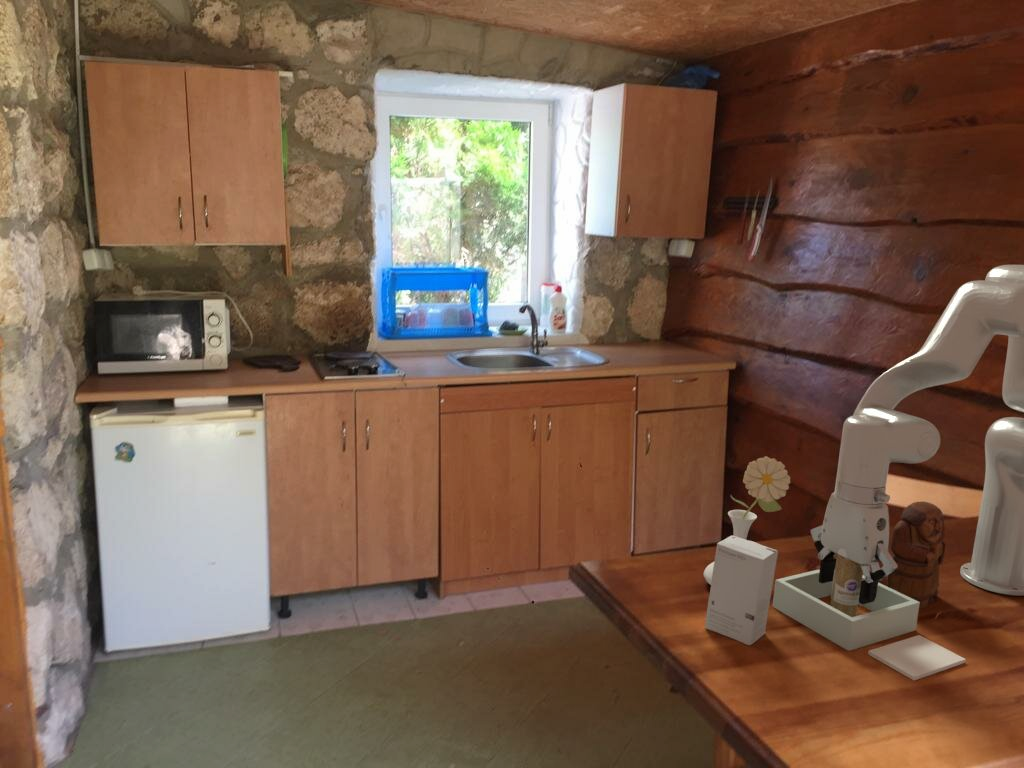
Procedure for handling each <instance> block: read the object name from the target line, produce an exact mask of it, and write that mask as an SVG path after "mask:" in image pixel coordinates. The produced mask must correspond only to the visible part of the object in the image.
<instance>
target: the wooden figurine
mask: <svg viewBox="0 0 1024 768" xmlns="http://www.w3.org/2000/svg"><path fill="white" fill-rule="evenodd" d="M945 530H946V529H945V520H944V515H943V512H942V510H941V509H940V507H938V506H937V505H935V504H934V503H931V502H928V501H915V502H912V503H910V504H908V505H907V507H905V508H904V510H903V511H902V513H901V515H900V521H897V523H896V524H895V526H894V528H893V530H892V534H891V539H890V543H889V544H890V545H889V547H890V551H891V552H892V555H893V556H892V558H893V559H894V561H895V562H896V564H897V566H898V567H897V569H895V570H894V571H893V572H892V573H890V574H889V576H887V577H886V578H887V580H886V586H887V587H889V588H891V589H893V590H895V591H897V592H899V593H902V594H904V595H906V596H908V597H910V598H912V599H914V600H916V601H918V602H920V605H919V609H925V608H926V607H928V605H929V604H931V603H934V602H935V599H934V597H937V596H938V595H939V586H940V567H939V566H940V565H942V563H944V562H943V561H944V557H945V554H946V553H945V552H946V546H947V545H946V543H945V542H944V539H945Z"/></svg>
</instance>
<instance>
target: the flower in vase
mask: <svg viewBox="0 0 1024 768" xmlns="http://www.w3.org/2000/svg"><path fill="white" fill-rule="evenodd" d="M785 468H786V466H785V464H783V462H781V461H777V459H776V458H770V457H768V456H764V457H759V458H757V459H756V460H753V461H750V462H749V463H748V465H747V466H746V470H745V471H744V475H743V480H742V483H743V484H745V488H746V489H747V490H748V492H747V493H748V495H750V496H752V497H753V498H756V499H755V501H754V502H753V503H752V504H751V506H750V507H749V506H748V505H747V504H746V503H745V502H743V501H741V500H738V499H736V498H734V497H733V495H732V494H730V498H731V500H733V501H734V502H737V503H738V504H739V505H742V506H743V507H746V508H747V510H744V509H733V510H729V511H728V512H727V515H728V516H729V518H730V521H731V524H732V528H733V536H736V537H739V538H742V539H745V540H748V539H747V537H748V535H749V534H748V533H749V531H750V527H751V526H752V524H753V523H754V522H755V520H757V518H758V516H757V514H755V513H754V512H751V510H752V508H753V507H754V506H755V505H756V504H757V503H758V505H759V507H760V508H761V510H763V512H767V513H772V512H777V511H781V510H782V506H781V505H780V504H779V503H778V501H777V500H779V499H781V498H783V497H785V496H786V494H787V490H789V489H790V485H789V484H791V476H790V475H789V474H788V473H789V472H788V470H787V469H785ZM713 568H714V561H713V562H711V563H710V564H708V565H707V566H706V567H705V569H704V571H703V577H704V579H705V581H706V582H707V583H708V584H709V585H710V586H711V581H712V575H713Z"/></svg>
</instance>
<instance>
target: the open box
mask: <svg viewBox="0 0 1024 768" xmlns="http://www.w3.org/2000/svg"><path fill="white" fill-rule="evenodd" d="M819 572H820V568H819V569H814V570H810V571H807V572H802V573H798V574H794V575H789V576H785V577H781V578H778V579H775V581H774V590H773V591H774V592H773V598H772V606H771V607H772V608H774V609H776V610H778V611H779V612H781V613H782V614H784V615H786V616H788V617H789V618H790V619H793V620H794V621H796V622H798V623H800V624H802V625H803V626H805V627H807V628H808V629H810V630H811V631H813V632H815V633H817V634H819V635H820V636H822V637H824V638H826V639H827V640H828V641H831V642H832V643H834V644H836V645H838V646H839V647H841V648H842V649H845V650H847V651H848V652H850V651H852V650H856V649H859V648H862V647H865V646H869V645H872V644H876V643H878V642H882V641H885V640H888V639H893V638H896V637H898V636H901V635H906V634H908V633H911V632H914V631H916V630H917V629H916V628H917V623H918V616H919V611H920V610H919V609H920V608H919V605H920V602H918V601H916V600H914V599H912V598H910V597H908V596H906V595H904V594H902V593H899V592H897V591H895V590H893V589H891V588H889V587H887V585H885V584H882V583H880V582H878V587H877V594H876V598H875V601H874V602H870V603H867V604H861V603H858V606H862V607H864V608H865V609H867V610H869V611H870V612H865V613H862V614H860V615H856V616H855V617H850V616H848V615H846V614H845V613H843V612H841V611H839V610H837V609H835V608H833V607H832V606H830V605H829V604H828V603H827V602H824V601H822V600H821V598H822V599H823V598H824V597H829V596H831V592H832V584H833V581H830V582H826V583H820V582H819ZM863 580H865V577H864V574H863V575H862V581H863Z"/></svg>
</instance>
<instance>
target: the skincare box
mask: <svg viewBox="0 0 1024 768" xmlns="http://www.w3.org/2000/svg"><path fill="white" fill-rule="evenodd" d="M715 548H716V550H715V554H714V555H715V556H714V561H713V562H714V568H713V575H712V581H711V585H710V587H709V588H710V589H709V590H710V591H709V594H708V595H709V596H708V601H707V608H706V609H707V610H706V614H705V615H706V616H705V622H704V623H705V624H704V626H705V629H707V630H709V631H710V632H711V631H712V632H715V633H718V634H720V635H722V636H725V637H728V638H730V639H733V640H736V641H738V642H740V643H741V644H745V645H747V646H752V645H753V644H754V643H755V642H756V641H758V640H759V639H760V638H761V637H763V636H764V635H765V633H766V629H767V622H768V614H769V609H770V604H771V597H772V591H773V585H774V579H775V572H776V566H777V560H778V554H779V551H778V550H777V549H774V548H771V547H768V546H766V545H763V544H760V543H758V542H755V541H752V540H748V539H746V540H745V539H742V538H739V537H736V536H734V534H733V535H730V536H727V537H726V538H725V539H723V540H721V541H719V542H717V543H716V547H715Z"/></svg>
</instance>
